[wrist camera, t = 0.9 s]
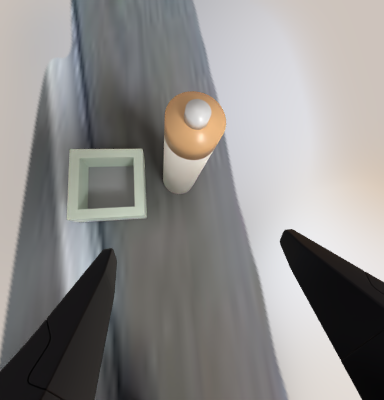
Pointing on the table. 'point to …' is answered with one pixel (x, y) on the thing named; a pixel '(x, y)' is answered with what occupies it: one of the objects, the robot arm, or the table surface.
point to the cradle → (106, 185)
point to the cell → (190, 138)
